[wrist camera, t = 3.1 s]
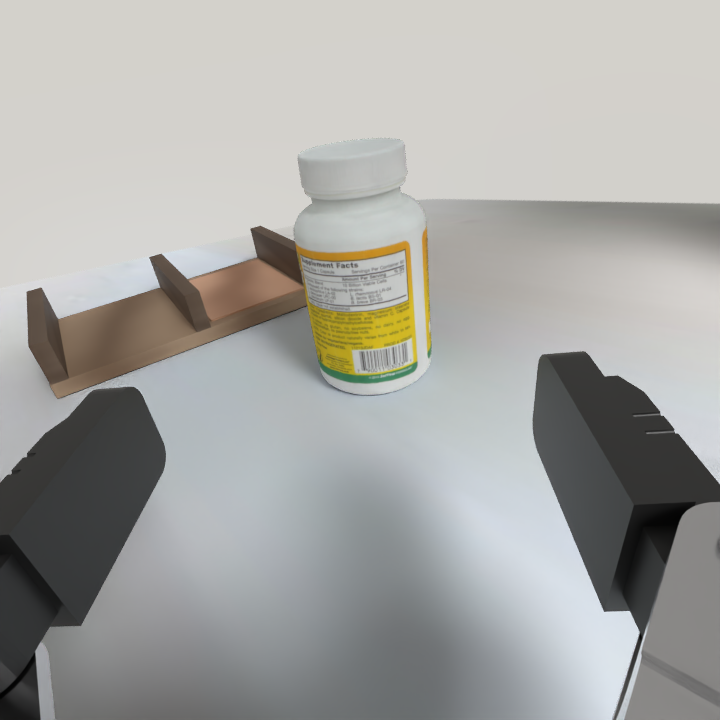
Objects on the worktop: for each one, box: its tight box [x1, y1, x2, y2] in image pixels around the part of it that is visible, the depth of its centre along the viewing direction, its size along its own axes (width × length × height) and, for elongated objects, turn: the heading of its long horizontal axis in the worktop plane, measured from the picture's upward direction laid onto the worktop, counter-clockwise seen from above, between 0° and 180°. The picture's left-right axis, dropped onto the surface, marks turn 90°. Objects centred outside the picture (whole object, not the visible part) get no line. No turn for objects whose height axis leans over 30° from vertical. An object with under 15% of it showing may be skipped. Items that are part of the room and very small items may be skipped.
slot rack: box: [27, 226, 307, 399], centre depth 30 cm, size 23×9×3 cm, turn 123°
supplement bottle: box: [294, 138, 431, 395], centre depth 20 cm, size 5×5×10 cm
